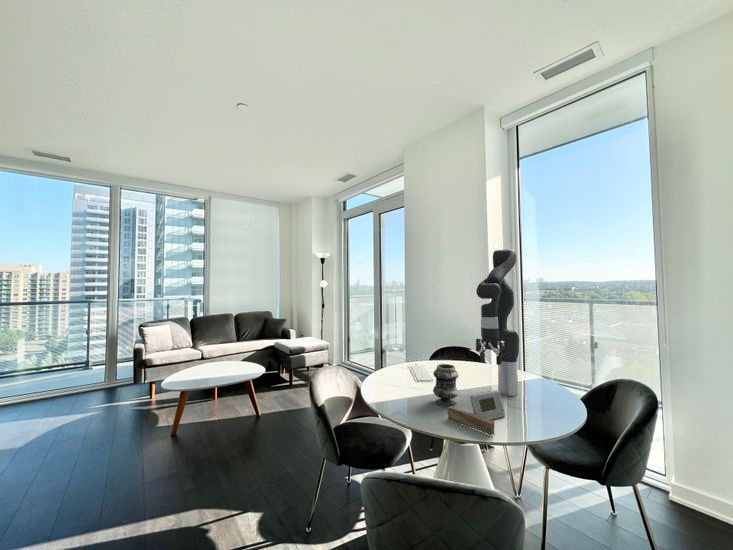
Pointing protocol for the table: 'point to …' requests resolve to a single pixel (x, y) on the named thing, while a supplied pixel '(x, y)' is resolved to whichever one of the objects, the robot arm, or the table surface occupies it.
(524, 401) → the table surface
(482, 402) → the digital clock
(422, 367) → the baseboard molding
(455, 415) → the walnut board
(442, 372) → the stone urn vase
